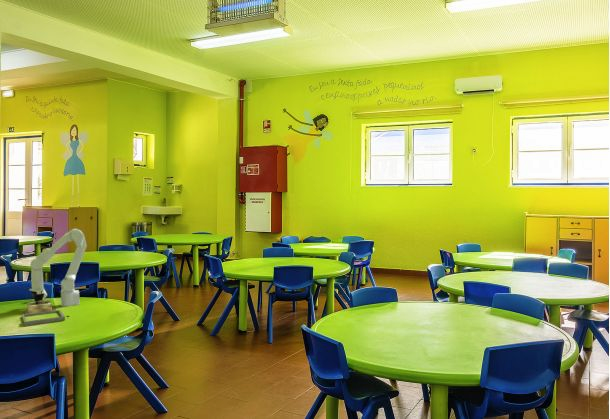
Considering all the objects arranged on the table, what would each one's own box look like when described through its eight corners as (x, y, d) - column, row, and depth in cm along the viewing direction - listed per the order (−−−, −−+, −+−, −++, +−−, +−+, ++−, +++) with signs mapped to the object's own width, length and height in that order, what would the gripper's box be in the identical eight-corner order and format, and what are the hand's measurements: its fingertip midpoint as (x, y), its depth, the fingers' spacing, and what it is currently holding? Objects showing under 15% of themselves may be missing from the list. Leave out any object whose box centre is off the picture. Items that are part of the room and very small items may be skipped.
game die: (39, 308, 307) (32, 297, 300) (33, 301, 312) (25, 290, 305) (53, 298, 312) (46, 287, 305) (46, 292, 316) (40, 281, 310)
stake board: (53, 307, 291) (52, 295, 291) (56, 313, 278) (56, 301, 277) (22, 311, 283) (22, 299, 283) (25, 317, 270) (24, 305, 269)
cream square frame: (49, 306, 290) (49, 299, 289) (52, 310, 279) (51, 303, 279) (27, 309, 284) (26, 302, 284) (28, 313, 273) (28, 306, 273)
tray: (60, 313, 277) (60, 309, 277) (65, 320, 262) (64, 316, 262) (22, 318, 268) (21, 314, 267) (24, 326, 252) (24, 322, 252)
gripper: (28, 279, 289) (29, 303, 289) (30, 283, 276) (31, 308, 277) (42, 278, 292) (43, 301, 293) (44, 281, 280) (45, 306, 281)
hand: (38, 305), depth 285 cm, fingers open, 7 cm apart
